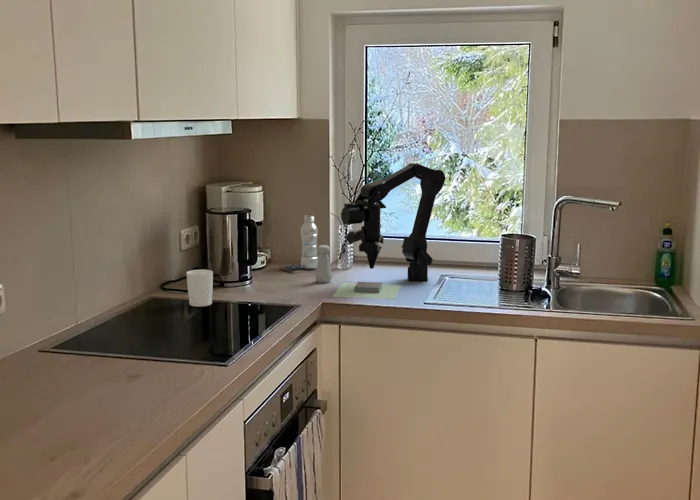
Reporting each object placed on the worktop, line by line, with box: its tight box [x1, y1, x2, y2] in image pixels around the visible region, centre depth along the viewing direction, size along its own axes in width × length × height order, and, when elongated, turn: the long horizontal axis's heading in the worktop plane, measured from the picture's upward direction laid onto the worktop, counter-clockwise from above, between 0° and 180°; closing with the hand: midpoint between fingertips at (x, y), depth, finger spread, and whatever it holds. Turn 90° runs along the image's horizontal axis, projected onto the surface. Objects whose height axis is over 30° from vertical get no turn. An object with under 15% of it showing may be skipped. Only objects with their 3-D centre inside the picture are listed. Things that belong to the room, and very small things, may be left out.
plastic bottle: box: [300, 215, 319, 270], centre depth 282 cm, size 6×7×20 cm
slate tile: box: [355, 281, 383, 293], centre depth 247 cm, size 8×2×8 cm
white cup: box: [185, 269, 214, 308], centre depth 229 cm, size 8×8×10 cm
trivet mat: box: [331, 282, 402, 300], centre depth 246 cm, size 20×20×1 cm
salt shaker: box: [314, 244, 333, 284], centre depth 258 cm, size 6×6×13 cm
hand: (371, 268), depth 252 cm, fingers closed
